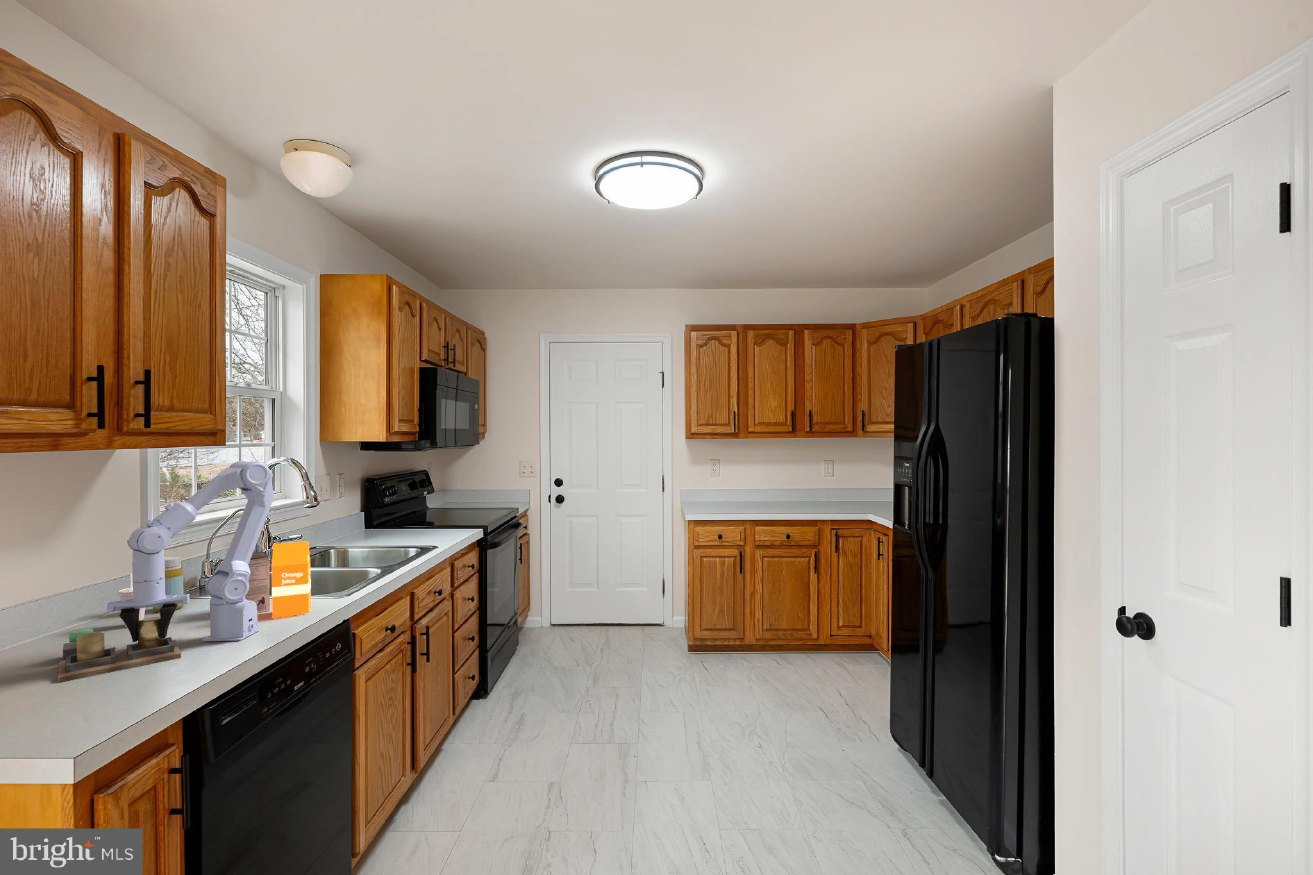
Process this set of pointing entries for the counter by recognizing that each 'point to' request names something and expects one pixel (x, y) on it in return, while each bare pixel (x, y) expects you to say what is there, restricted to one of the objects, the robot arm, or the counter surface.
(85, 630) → the button
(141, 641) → the cylinder
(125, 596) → the smoothie
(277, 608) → the orange juice
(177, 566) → the bottle
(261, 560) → the coffee box
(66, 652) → the button box
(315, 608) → the counter surface
